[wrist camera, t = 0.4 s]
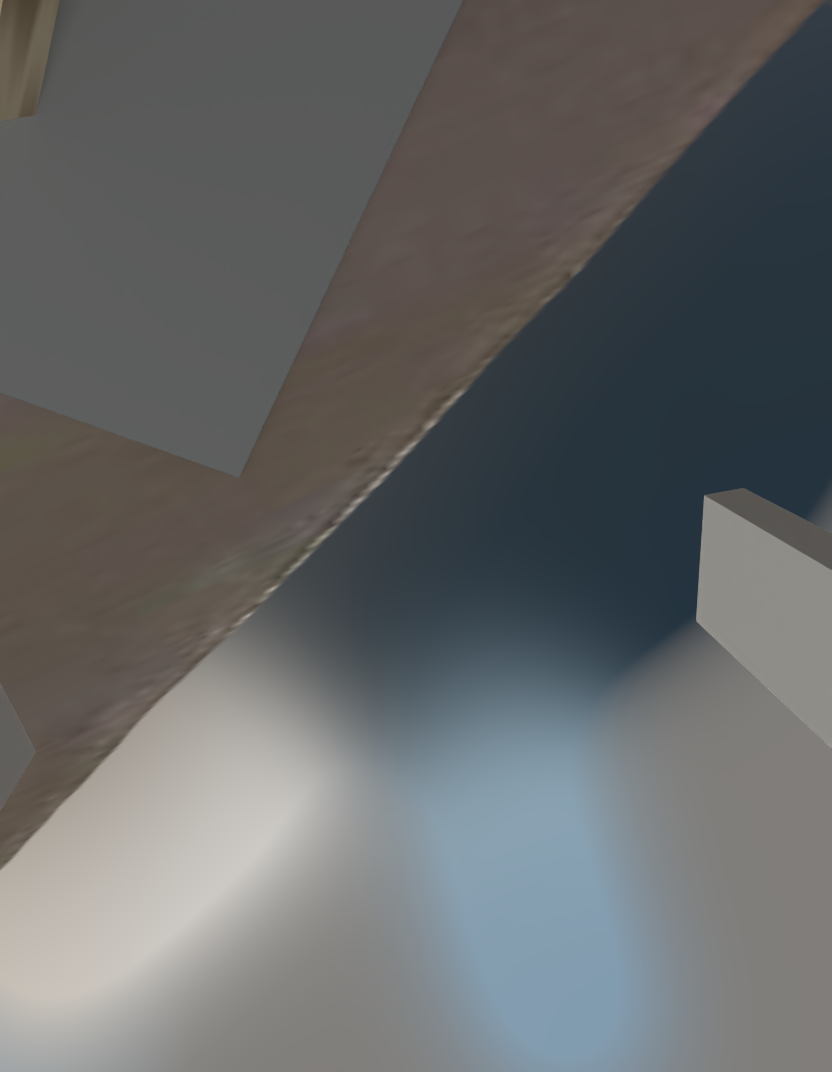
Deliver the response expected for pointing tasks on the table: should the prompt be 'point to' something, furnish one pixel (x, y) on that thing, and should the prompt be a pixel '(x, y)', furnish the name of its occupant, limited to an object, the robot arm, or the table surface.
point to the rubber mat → (194, 203)
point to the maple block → (24, 53)
